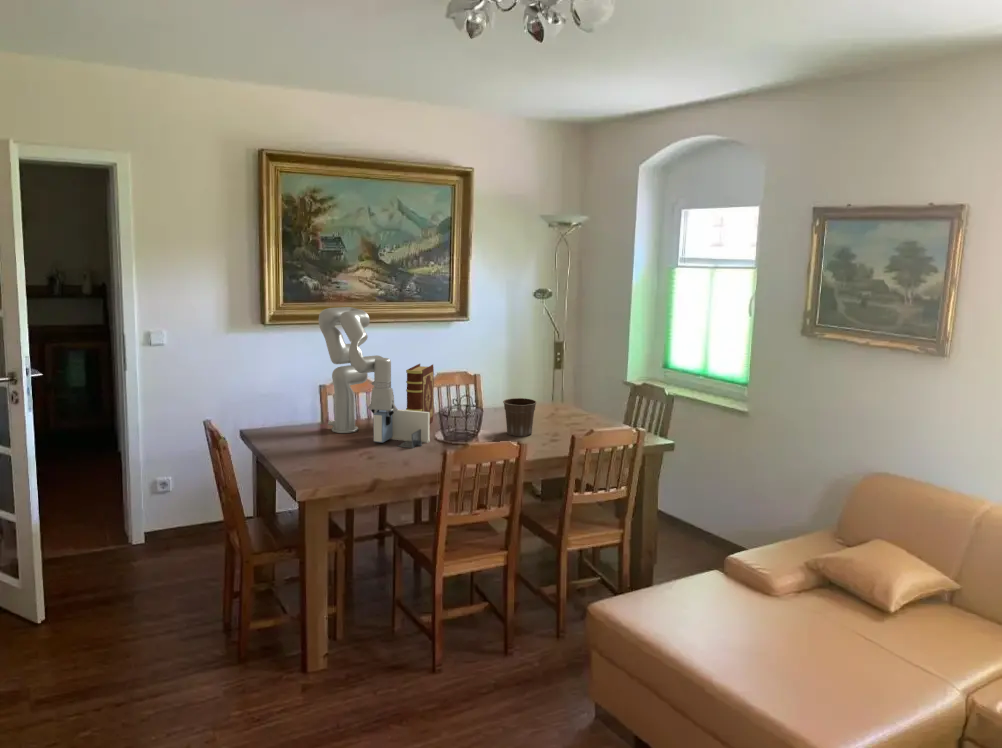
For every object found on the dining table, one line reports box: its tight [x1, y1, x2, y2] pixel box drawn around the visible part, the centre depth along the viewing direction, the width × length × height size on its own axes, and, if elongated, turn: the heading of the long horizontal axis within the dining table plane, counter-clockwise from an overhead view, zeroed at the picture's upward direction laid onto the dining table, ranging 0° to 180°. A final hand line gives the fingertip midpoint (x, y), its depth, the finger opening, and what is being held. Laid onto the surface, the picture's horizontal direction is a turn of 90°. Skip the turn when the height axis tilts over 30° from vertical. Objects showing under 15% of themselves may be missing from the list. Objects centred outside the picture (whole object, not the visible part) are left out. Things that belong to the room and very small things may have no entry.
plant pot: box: [502, 397, 538, 437], centre depth 375 cm, size 16×16×16 cm
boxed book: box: [372, 410, 392, 443], centre depth 354 cm, size 4×11×13 cm, turn 163°
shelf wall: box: [379, 408, 431, 444], centre depth 359 cm, size 26×3×14 cm, turn 74°
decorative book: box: [405, 363, 435, 424], centre depth 385 cm, size 22×8×30 cm, turn 168°
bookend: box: [397, 429, 423, 449], centre depth 351 cm, size 10×10×6 cm
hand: (382, 423), depth 354 cm, fingers closed on boxed book, 4 cm apart
